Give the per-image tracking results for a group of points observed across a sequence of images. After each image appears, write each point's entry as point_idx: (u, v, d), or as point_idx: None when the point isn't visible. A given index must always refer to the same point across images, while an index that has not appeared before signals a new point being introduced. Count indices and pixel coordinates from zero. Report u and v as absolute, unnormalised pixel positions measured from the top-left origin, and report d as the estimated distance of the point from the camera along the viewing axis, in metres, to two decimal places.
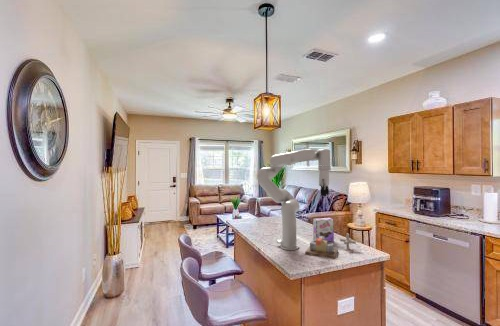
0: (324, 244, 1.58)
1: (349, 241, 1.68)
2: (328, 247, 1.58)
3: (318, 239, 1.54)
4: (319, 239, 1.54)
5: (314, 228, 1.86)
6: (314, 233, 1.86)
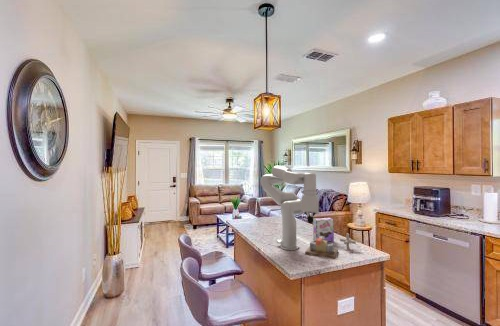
0: (324, 244, 1.58)
1: (349, 241, 1.68)
2: (328, 247, 1.58)
3: (318, 239, 1.54)
4: (319, 239, 1.54)
5: (314, 228, 1.86)
6: (314, 233, 1.86)
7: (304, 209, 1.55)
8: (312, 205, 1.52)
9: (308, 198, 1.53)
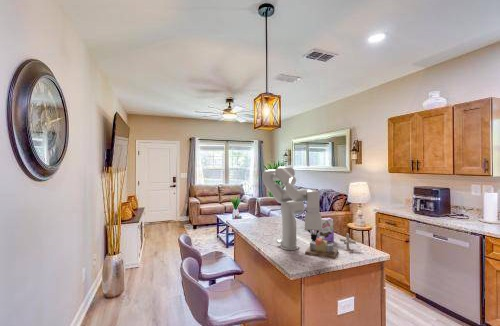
0: (324, 244, 1.58)
1: (349, 241, 1.68)
2: (328, 247, 1.58)
3: (318, 239, 1.54)
4: (319, 239, 1.54)
5: None
6: None
7: (308, 227, 1.53)
8: (316, 223, 1.52)
9: (312, 216, 1.52)
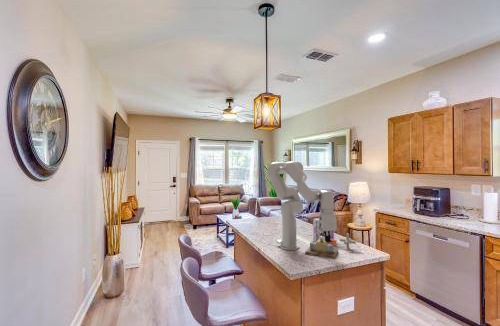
0: (324, 244, 1.58)
1: (349, 241, 1.68)
2: (328, 247, 1.58)
3: (331, 239, 1.53)
4: (331, 239, 1.54)
5: (314, 228, 1.86)
6: (314, 233, 1.86)
7: (326, 229, 1.49)
8: (333, 223, 1.51)
9: (330, 217, 1.50)
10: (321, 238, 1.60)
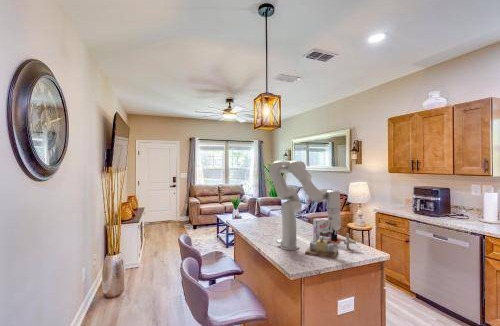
0: (324, 244, 1.58)
1: (349, 241, 1.68)
2: (328, 247, 1.58)
3: None
4: None
5: (314, 228, 1.86)
6: (314, 233, 1.86)
7: (336, 228, 1.50)
8: (339, 222, 1.54)
9: (338, 216, 1.53)
10: (322, 238, 1.60)
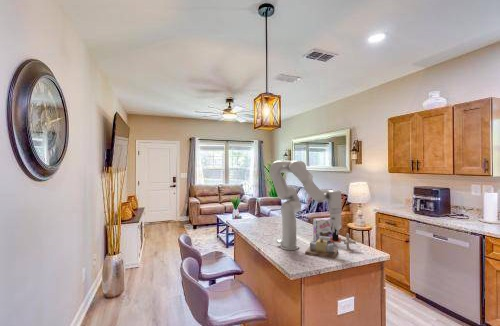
0: (324, 244, 1.58)
1: (349, 241, 1.68)
2: (328, 247, 1.58)
3: None
4: None
5: (314, 228, 1.86)
6: (314, 233, 1.86)
7: (338, 228, 1.51)
8: (340, 222, 1.55)
9: (339, 216, 1.54)
10: (323, 238, 1.60)
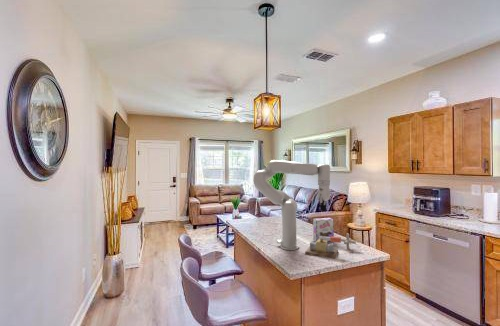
0: (324, 244, 1.58)
1: (349, 241, 1.68)
2: (328, 247, 1.58)
3: (336, 237, 1.58)
4: (335, 237, 1.58)
5: (314, 228, 1.86)
6: (314, 233, 1.86)
7: (326, 198, 1.63)
8: (328, 194, 1.67)
9: (327, 188, 1.66)
10: (323, 238, 1.60)
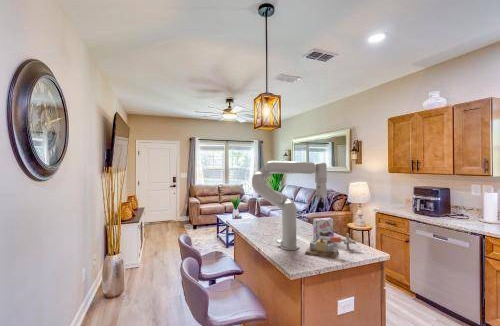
0: (324, 244, 1.58)
1: (349, 241, 1.68)
2: (328, 247, 1.58)
3: (336, 237, 1.58)
4: (335, 237, 1.58)
5: (314, 228, 1.86)
6: (314, 233, 1.86)
7: (324, 195, 1.68)
8: (326, 191, 1.72)
9: (325, 185, 1.70)
10: (323, 238, 1.60)
